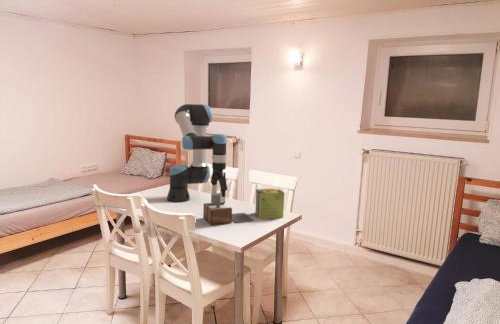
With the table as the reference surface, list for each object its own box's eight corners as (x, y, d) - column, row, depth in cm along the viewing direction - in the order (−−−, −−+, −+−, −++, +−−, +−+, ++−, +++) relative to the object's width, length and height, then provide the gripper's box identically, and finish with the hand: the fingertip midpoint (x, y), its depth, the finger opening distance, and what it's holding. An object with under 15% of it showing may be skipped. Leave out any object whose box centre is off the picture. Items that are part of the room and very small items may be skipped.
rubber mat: (225, 215, 212) (225, 214, 212) (243, 213, 217) (243, 212, 217) (235, 223, 198) (235, 222, 198) (254, 220, 203) (254, 220, 203)
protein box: (283, 217, 211) (284, 192, 208) (258, 218, 208) (259, 192, 206) (279, 212, 221) (280, 188, 219) (255, 212, 219) (256, 188, 216)
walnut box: (203, 217, 205) (203, 203, 204) (222, 215, 210) (223, 201, 209) (211, 225, 193) (211, 210, 191) (231, 223, 198) (232, 208, 196)
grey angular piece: (206, 207, 204) (206, 192, 202) (222, 205, 208) (223, 191, 206) (213, 213, 193) (213, 197, 192) (229, 211, 198) (230, 195, 196)
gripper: (205, 158, 206) (205, 194, 209) (220, 165, 183) (219, 205, 187) (217, 158, 209) (217, 193, 212) (233, 165, 187) (232, 204, 190)
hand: (218, 199), depth 199 cm, fingers open, 13 cm apart
